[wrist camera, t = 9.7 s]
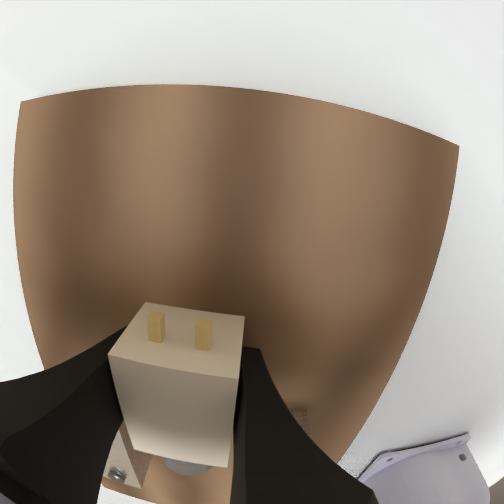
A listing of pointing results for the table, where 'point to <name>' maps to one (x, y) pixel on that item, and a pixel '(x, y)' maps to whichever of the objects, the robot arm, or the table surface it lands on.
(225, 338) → the plug
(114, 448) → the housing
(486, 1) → the table surface
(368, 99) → the table surface
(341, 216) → the base board
